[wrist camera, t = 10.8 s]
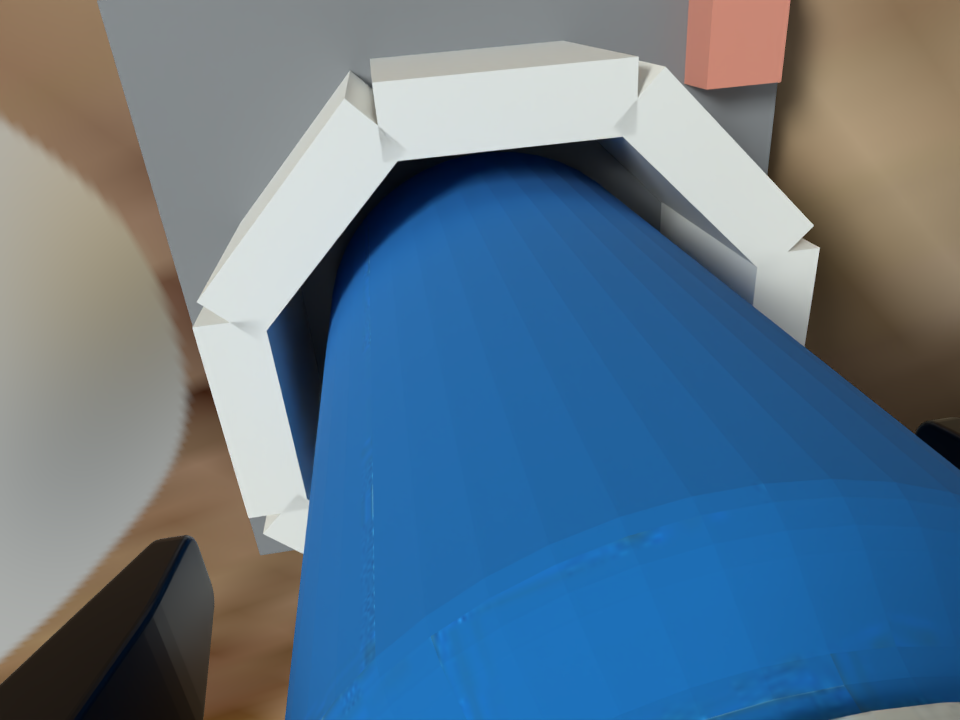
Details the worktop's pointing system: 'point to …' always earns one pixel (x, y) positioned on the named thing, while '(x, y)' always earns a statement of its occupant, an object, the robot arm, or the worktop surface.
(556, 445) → the beverage can
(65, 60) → the worktop surface
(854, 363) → the worktop surface
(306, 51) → the socket
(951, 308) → the worktop surface
